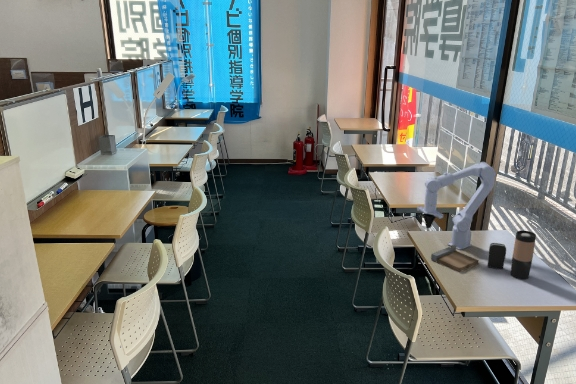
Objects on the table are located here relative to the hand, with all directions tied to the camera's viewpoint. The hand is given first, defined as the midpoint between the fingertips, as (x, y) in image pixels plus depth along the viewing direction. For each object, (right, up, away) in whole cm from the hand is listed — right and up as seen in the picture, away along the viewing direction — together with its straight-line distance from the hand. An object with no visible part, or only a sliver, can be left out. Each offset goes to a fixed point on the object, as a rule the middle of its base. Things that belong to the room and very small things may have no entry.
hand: (428, 227), depth 224 cm
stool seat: (+8, -15, -16) cm, 23 cm away
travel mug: (+31, -19, -29) cm, 47 cm away
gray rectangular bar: (+3, -13, -12) cm, 18 cm away
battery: (+24, -16, -21) cm, 36 cm away
